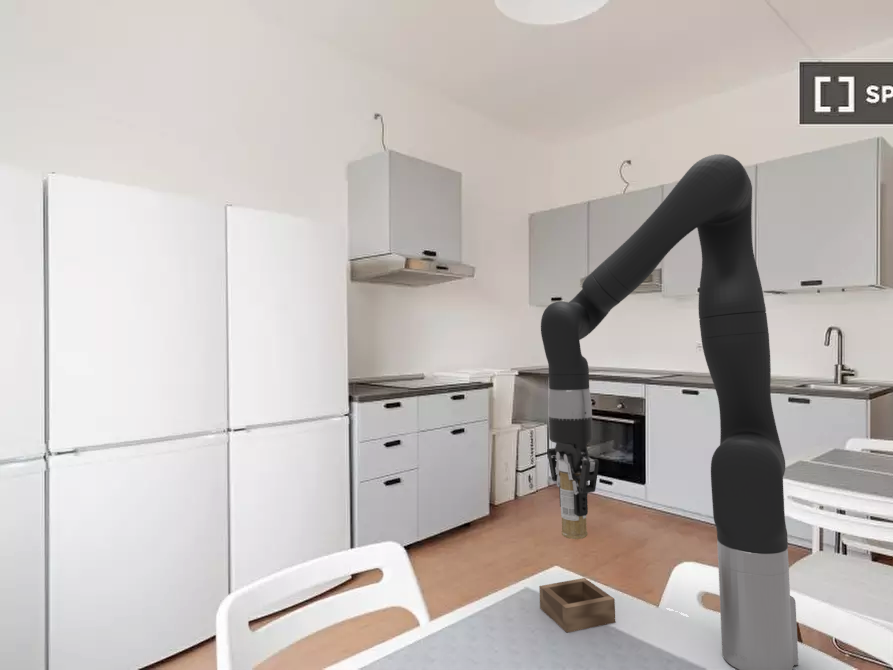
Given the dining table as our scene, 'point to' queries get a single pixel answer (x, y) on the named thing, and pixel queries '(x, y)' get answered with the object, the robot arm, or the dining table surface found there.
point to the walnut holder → (577, 604)
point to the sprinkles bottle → (570, 507)
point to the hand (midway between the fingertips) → (573, 511)
